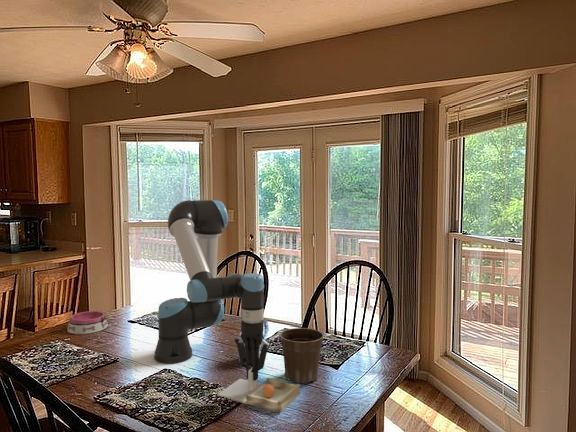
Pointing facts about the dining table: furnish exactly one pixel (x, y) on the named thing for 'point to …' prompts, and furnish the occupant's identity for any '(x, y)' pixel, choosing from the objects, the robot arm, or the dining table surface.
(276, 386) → the fence
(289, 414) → the dining table surface
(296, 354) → the plant pot
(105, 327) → the dog bowl
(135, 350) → the dining table surface
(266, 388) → the ball
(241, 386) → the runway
